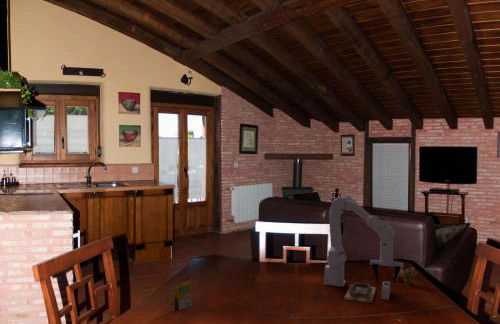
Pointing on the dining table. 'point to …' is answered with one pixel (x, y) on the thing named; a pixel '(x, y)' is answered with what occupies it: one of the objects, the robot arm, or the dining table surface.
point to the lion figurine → (407, 274)
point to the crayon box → (182, 295)
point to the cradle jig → (360, 292)
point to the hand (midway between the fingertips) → (386, 281)
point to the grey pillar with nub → (385, 290)
